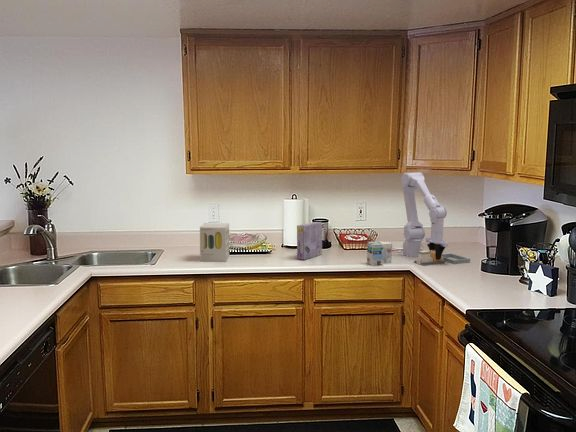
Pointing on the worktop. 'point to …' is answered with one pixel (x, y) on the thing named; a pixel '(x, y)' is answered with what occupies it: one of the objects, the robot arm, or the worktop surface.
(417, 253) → the robot arm
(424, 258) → the cream rectangular block
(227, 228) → the supplement box
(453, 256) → the slate tray
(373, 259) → the light bulb box
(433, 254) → the block
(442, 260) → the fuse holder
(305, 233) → the cake pan box
